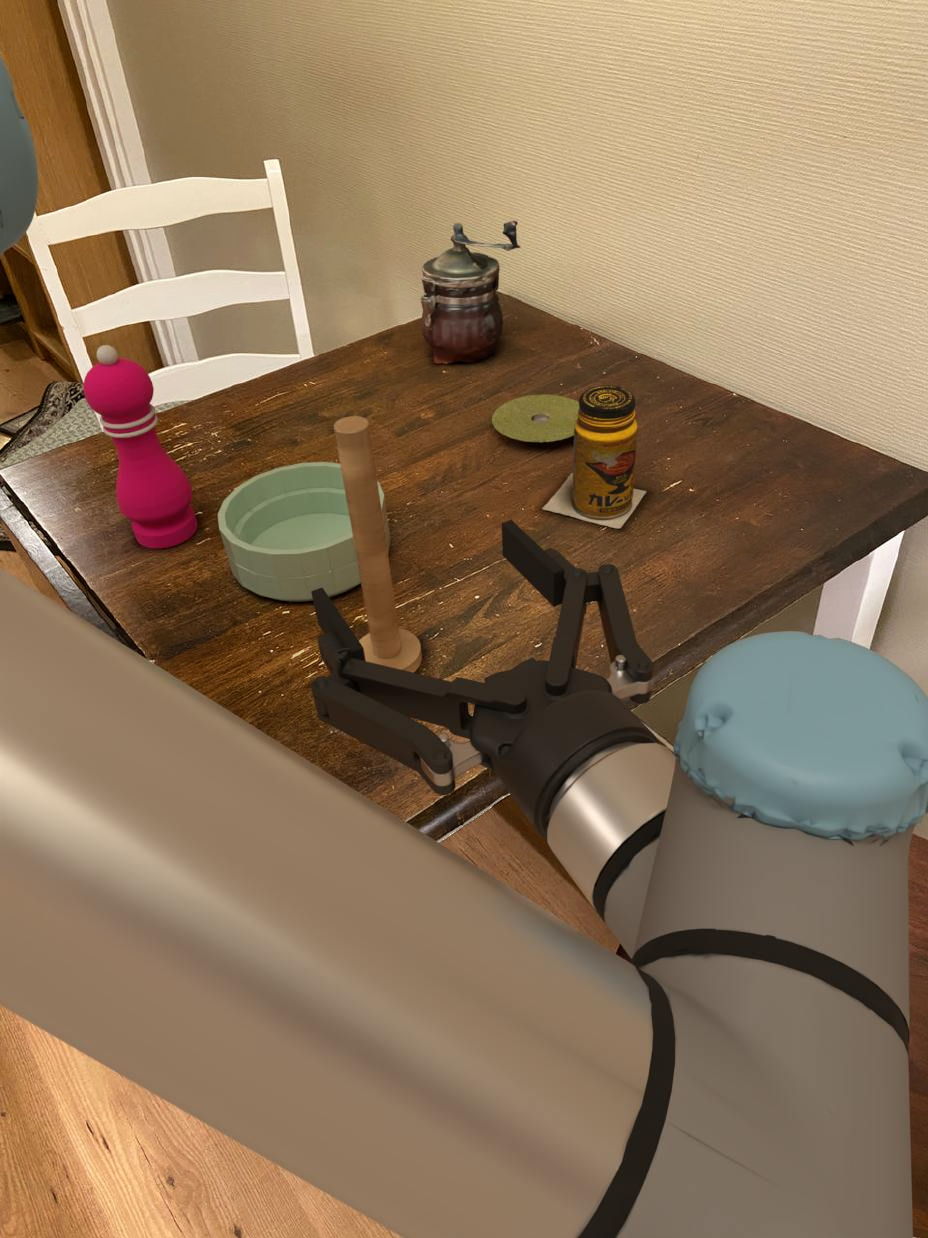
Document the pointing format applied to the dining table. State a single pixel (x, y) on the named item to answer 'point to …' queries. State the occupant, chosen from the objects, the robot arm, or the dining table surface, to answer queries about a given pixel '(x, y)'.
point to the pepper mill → (140, 453)
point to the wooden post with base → (372, 549)
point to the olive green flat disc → (537, 418)
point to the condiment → (602, 460)
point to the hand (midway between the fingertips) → (416, 570)
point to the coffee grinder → (463, 300)
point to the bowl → (292, 532)
